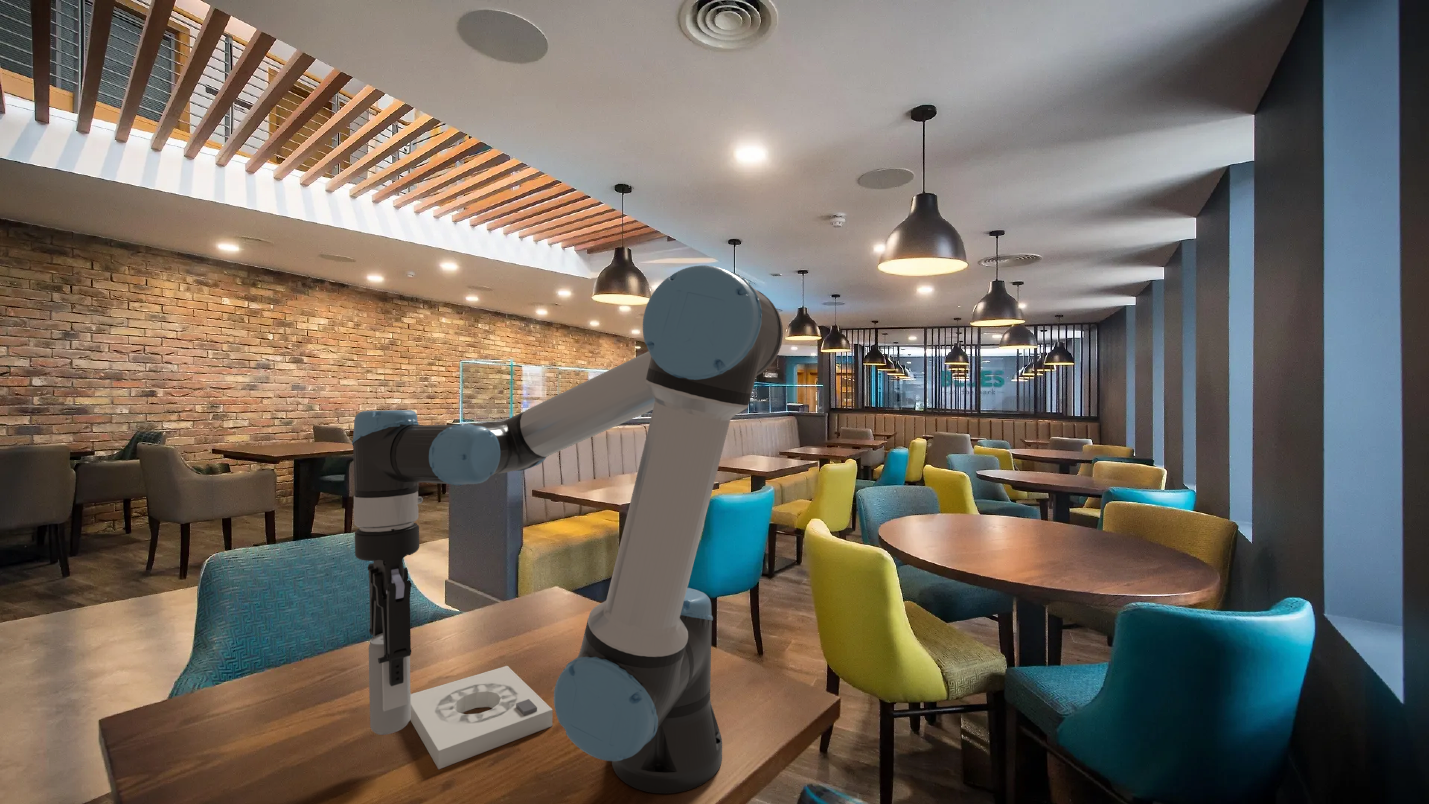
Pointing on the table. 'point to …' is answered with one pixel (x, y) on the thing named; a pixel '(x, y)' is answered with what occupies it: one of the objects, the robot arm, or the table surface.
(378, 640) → the beverage can
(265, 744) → the table surface
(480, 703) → the socket plate
